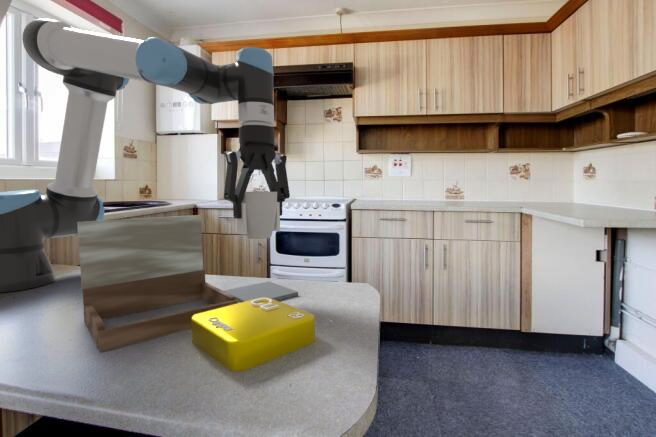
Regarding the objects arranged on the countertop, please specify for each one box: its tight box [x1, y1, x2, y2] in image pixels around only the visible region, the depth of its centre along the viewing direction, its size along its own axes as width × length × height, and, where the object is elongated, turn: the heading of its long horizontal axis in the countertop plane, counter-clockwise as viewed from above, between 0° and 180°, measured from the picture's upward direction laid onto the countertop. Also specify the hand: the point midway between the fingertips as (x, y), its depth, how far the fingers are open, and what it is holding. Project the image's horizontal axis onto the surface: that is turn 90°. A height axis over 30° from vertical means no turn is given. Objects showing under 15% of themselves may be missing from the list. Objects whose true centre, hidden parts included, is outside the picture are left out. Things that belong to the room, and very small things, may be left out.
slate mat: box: [223, 281, 299, 303], centre depth 80 cm, size 12×12×1 cm
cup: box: [242, 191, 277, 240], centre depth 79 cm, size 8×8×10 cm
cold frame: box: [77, 214, 239, 353], centre depth 65 cm, size 17×22×18 cm
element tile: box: [190, 297, 316, 372], centre depth 57 cm, size 15×15×5 cm
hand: (259, 232), depth 79 cm, fingers closed on cup, 8 cm apart
